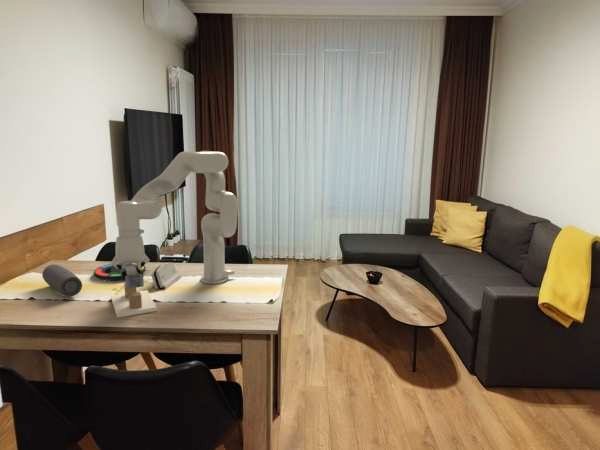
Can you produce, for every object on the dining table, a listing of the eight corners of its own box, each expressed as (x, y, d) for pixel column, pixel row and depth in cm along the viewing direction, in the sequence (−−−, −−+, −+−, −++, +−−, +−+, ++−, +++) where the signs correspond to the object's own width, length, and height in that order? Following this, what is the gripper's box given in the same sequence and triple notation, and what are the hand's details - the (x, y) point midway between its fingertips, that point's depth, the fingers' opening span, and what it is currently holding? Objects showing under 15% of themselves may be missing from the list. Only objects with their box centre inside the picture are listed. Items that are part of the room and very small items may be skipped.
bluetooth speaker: (84, 296, 167) (83, 273, 165) (59, 302, 160) (57, 278, 158) (65, 282, 182) (63, 261, 180) (42, 287, 175) (39, 265, 173)
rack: (147, 293, 172) (146, 279, 171) (156, 310, 155) (156, 294, 154) (111, 298, 165) (110, 283, 164) (116, 317, 148) (115, 300, 147)
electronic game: (154, 269, 205) (153, 260, 204) (131, 284, 183) (130, 274, 182) (111, 266, 207) (110, 257, 206) (83, 281, 185) (82, 271, 184)
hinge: (166, 289, 177) (157, 268, 176) (156, 292, 178) (148, 271, 177) (181, 277, 194) (174, 258, 192) (173, 280, 194) (165, 260, 193)
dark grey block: (136, 272, 167) (135, 263, 166) (143, 286, 152) (143, 276, 151) (120, 274, 164) (119, 265, 163) (126, 288, 149) (125, 278, 148)
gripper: (150, 230, 162) (152, 274, 165) (104, 233, 153) (107, 279, 157) (154, 233, 155) (155, 279, 159) (106, 237, 147) (108, 285, 151)
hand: (131, 279), depth 158 cm, fingers closed on dark grey block, 4 cm apart
